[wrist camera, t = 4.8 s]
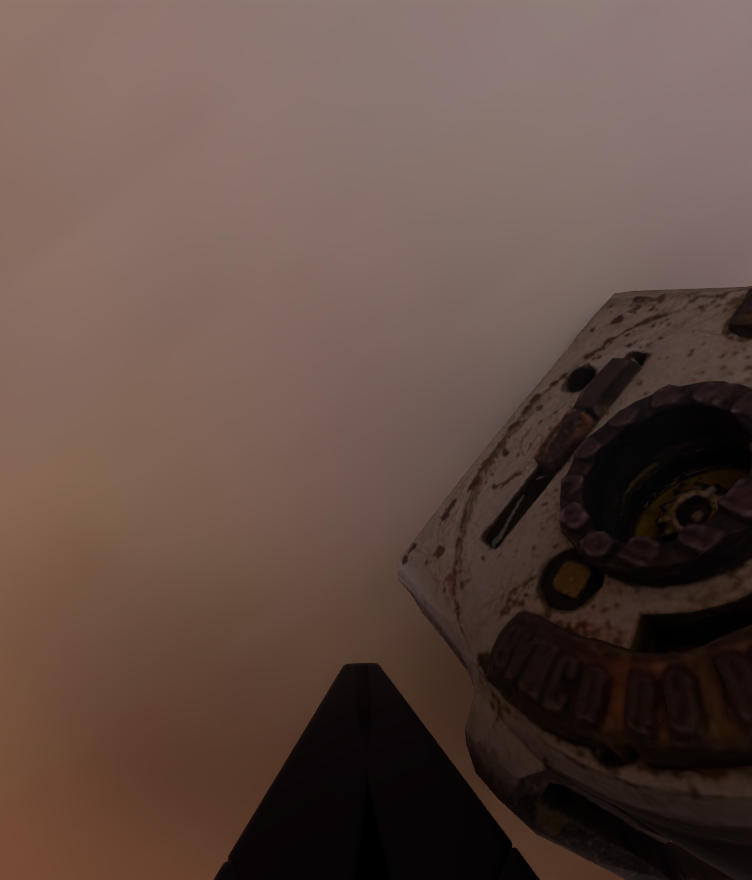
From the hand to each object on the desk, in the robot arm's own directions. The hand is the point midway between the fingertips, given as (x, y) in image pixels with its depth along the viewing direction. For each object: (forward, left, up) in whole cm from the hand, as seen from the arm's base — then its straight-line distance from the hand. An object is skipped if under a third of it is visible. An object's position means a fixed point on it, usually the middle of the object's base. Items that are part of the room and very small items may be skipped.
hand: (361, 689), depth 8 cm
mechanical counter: (0, -7, -3) cm, 7 cm away
